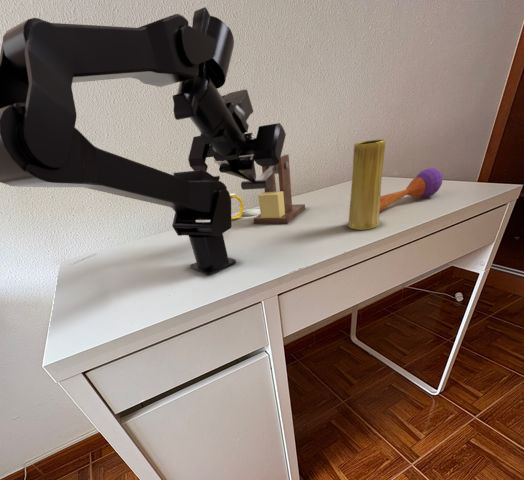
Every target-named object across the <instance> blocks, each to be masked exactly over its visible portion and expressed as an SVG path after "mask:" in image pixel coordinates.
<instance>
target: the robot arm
mask: <svg viewBox="0 0 524 480" xmlns="http://www.w3.org/2000/svg"><path fill="white" fill-rule="evenodd" d="M234 48H235V40H234V35H233V31H232V30H231V28H230V27H229V26H227V24H226V23H225V22H224V21H223V20H221V19H220V18H219V17H216V16H213V15H211V14H210V13H209V11H208V8H207V7H201V8H199V9H196V10H194V12H193V17H192V23H191V26H190V25H189V21H188V19H187V18H186V17H185V16H184V15H181V14H179V13H175V14H172V15H169V16H166V17H163V18H160V19H158V20H155V21H153V22H150V23H147V24H144V25H141V26H138V27H132V26H131V27H130V26H129V27H128V26H113V25H96V24H95V25H93V24H78V23H76V24H75V23H58V22H56V23H55V22H50V21H47V20H44V19H41V18H38V17H32V18H28V19H25V20H24V21H22V22H20V23H19V24H17V25H16V26H13V27H12V28H10V29H8V30H6V32H5V33H4V35H3V36H2V43H1V47H0V184H1V183H2V184H3V185H7V186H10V187H16V188H17V187H19V188H22V187H23V188H84V189H89V190H93V191H97V192H102V193H105V194H110V195H115V196H119V197H124V198H129V199H133V200H138V201H142V202H147V203H150V204H155V205H160V206H164V207H168V208H171V209H172V210H173V211H174V217H173V220H172V228H173V230H174V232H175V233H176V235H177V236H178V237H181V236H188V239H189V242H190V245H191V249H192V252H193V256H194V260H195V262H193V264H189V267H190V269H192V270H193V271H195V272H199V273H201V274H204V275H205V276H211V275H213V274H215V273H217V272H220V271H222V270H224V269H226V268H228V267H230V266H233V265H235V264H236V263H237V260H236V259H234V258H231V257H229V256H228V251H227V248H226V243H225V238H224V237H225V236H224V233H226V232H227V231H229V230H230V229H232V220H231V217H232V198H231V197H230V194H231V193H230V192H229V191H228V189H227V188H228V187H227V185H226V184H225V183H224V182H223V181H221V180H220V179H221V177H220V175H212V174H211V173H209V172H208V167H209V165H208V164H207V163H206V160H207V158H213V159H214V160H213V162H214V163H215V164H217V165H218V166H219V168H218V171H219V172H220V173H222V174H227V175H231V176H233V177H237V178H240V179H243V180H245V181H251V182H254V181H255V180H256V179H257V172H256V165H258V166H260V167H261V168H262V167H266V166H276V165H277V164H278V163H279V161H280V157H281V156H282V153H283V149H284V144H285V139H286V135H287V134H286V132H285V129H284V126H283V125H282V124H281V123H280V122H278V123H272V124H270V123H269V124H265V125H259V126H258V128H257V132H256V137H254V133H253V132H248V131H249V126H250V125H249V124H248V119H249V118H250V116H251V115H252V114H253V113H254V108H253V105H252V102H251V101H252V100H251V99H250V96H249V95H250V94H249V91H248V90H247V89H241V90H237V91H233V92H228V93H226V94H224V95H221V93H220V91H219V90H218V89H220V88H222V87H223V86H224V85H225V84H226V81H227V76H228V73H229V67H230V65H231V60H232V55H233V51H234ZM128 78H131V79H135V80H139V81H140V82H141V83H142V84H144V85H150V86H154V87H160V88H161V87H166V86H169V85H173V84H177V83H179V84H178V88H177V92H176V94H174V95H172V101H173V116H174V118H175V120H176V121H179V120H185V119H190V121H191V122H192V123H193V125H194V126H195V127H196V128H197V130H198V131H199V133H200V135H196V136H193V138H192V142H191V146H190V149H189V154H188V159H187V160H188V161H187V162H188V164H189V167H190V168H191V169H192V170H188V171H178V172H173V174H171V173H168V172H166V171H163V170H160V169H157V168H155V167H151V166H148V165H147V164H146V165H145V164H143V163H140V162H137V161H135V160H132V159H129V158H126V157H123V156H121V155H118V154H116V153H113V152H109V151H107V150H104V149H101V148H99V147H97V146H96V145H94V144H93V143H92V142H91V141H90V140H89V139H88V138H87V137H85V135H84V134H83V133H82V132H81V131H80V130H79V129H78V128H77V127H76V121H77V109H76V104H75V97H74V93H73V88H72V87H73V83H74V84H75V83H86V82H97V81H108V80H119V79H128ZM255 164H256V165H255Z"/></svg>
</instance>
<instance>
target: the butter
mask: <svg viewBox="0 0 524 480" xmlns="http://www.w3.org/2000/svg"><path fill="white" fill-rule="evenodd" d="M257 198H258V204H259V210H260V214H261V218H280V217H282V216H283V215H284V214H285V207H284V195H283V191H280V190H279V191H278V190H277V191H276V192H265V191H264V192H262V193H260V194H259V195H258V197H257Z"/></svg>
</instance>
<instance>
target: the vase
mask: <svg viewBox="0 0 524 480" xmlns="http://www.w3.org/2000/svg"><path fill="white" fill-rule="evenodd" d="M385 151H386V139H383V138H381V139H380V138H379V139H378V138H377V139H370V140H364V141H359V142H355V143H354V144H353V155H352V156H353V158H352V172H351V173H352V174H351V189H350V202H349V213H348V223H347V227H348V228H349V229H351V230H356V231H367V230H372V229H375V228H377V227H378V226H379V225H380V212H381V211H380V196H381V194H382V193H381V192H382V178H383V170H384V159H385Z"/></svg>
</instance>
